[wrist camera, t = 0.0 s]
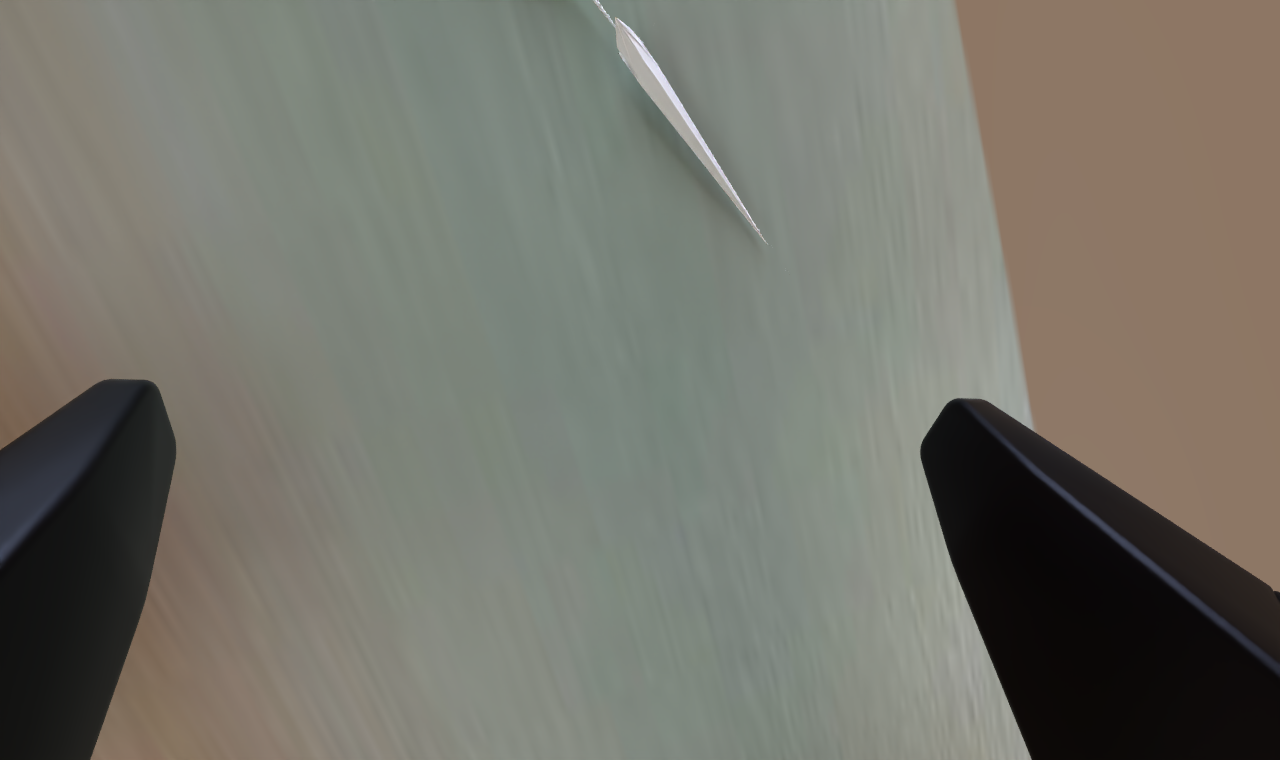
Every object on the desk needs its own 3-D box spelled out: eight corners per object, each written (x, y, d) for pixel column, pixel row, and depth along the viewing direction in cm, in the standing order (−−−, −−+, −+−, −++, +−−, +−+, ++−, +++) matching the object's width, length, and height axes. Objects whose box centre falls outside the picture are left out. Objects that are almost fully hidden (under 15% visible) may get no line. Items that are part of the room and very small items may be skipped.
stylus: (758, 317, 23) (318, -259, 18) (746, 314, 24) (324, -233, 19) (847, 235, 24) (443, -353, 18) (831, 236, 25) (442, -323, 19)
